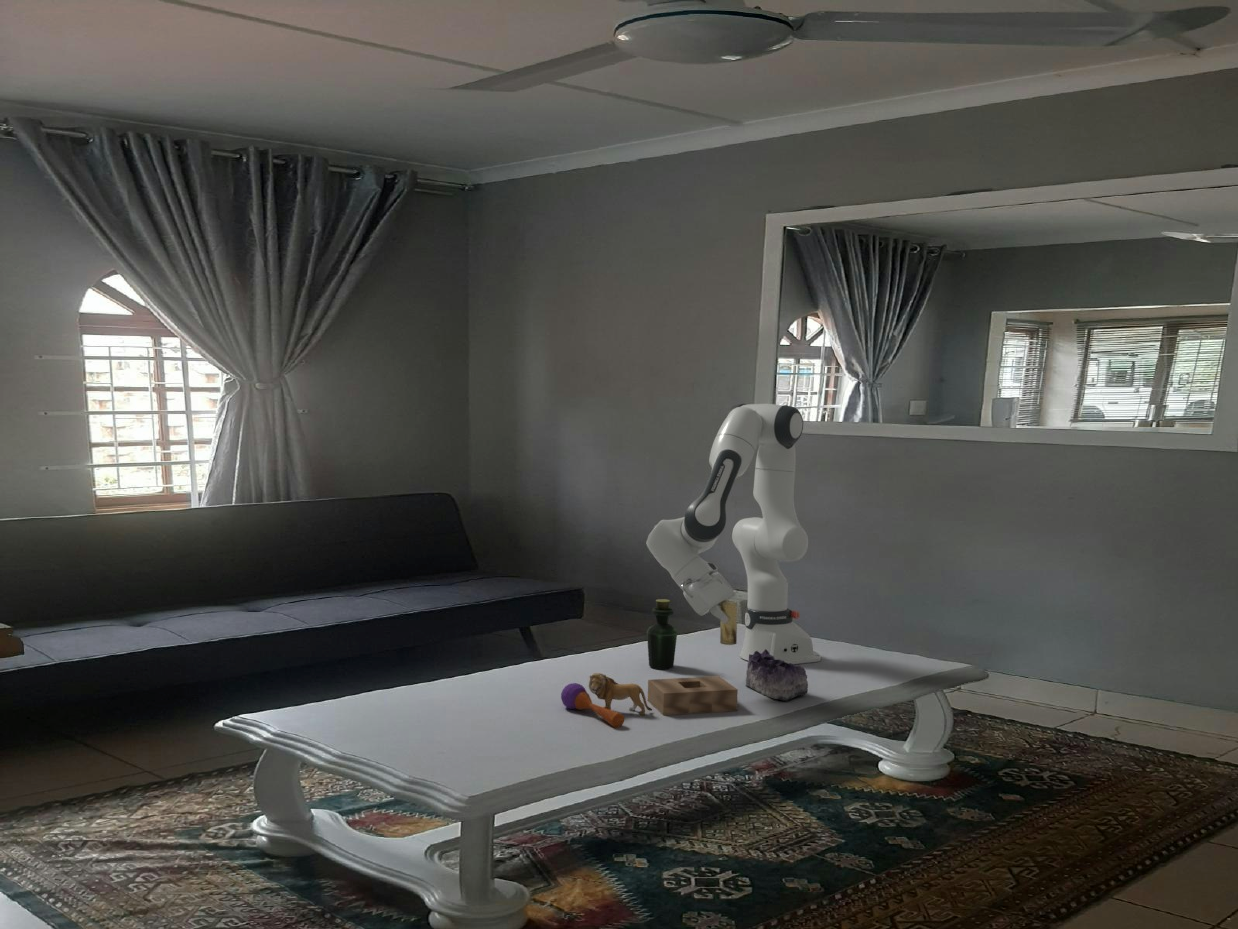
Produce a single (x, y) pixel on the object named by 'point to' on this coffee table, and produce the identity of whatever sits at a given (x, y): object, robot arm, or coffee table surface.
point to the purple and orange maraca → (588, 704)
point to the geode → (775, 677)
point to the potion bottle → (661, 638)
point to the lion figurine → (616, 691)
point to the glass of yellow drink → (729, 623)
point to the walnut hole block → (692, 695)
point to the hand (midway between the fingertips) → (731, 619)
